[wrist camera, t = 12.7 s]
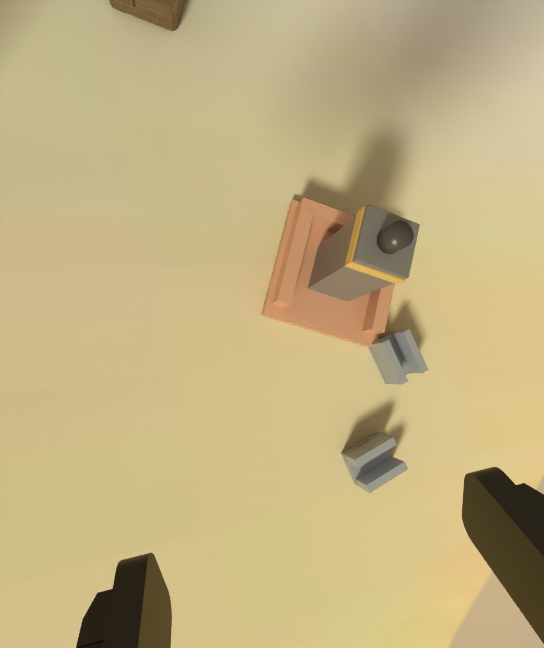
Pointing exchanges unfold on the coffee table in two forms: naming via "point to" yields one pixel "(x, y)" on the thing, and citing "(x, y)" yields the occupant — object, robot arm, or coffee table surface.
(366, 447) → the clip
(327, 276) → the plug
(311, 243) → the holder
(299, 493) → the coffee table surface
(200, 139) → the coffee table surface
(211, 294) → the coffee table surface
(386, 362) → the clip
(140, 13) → the toy
